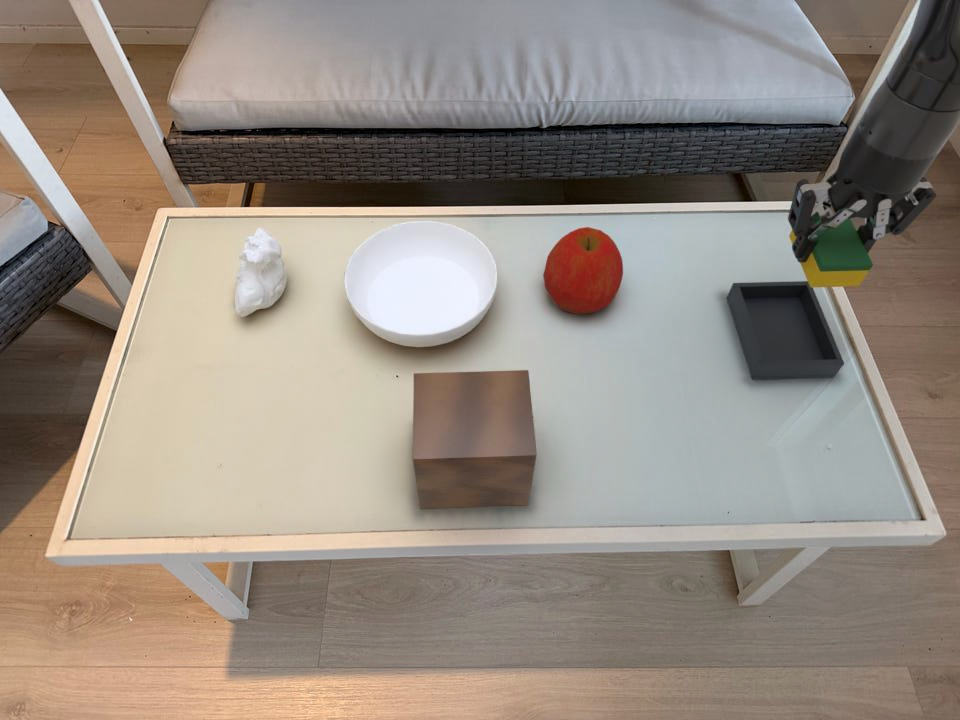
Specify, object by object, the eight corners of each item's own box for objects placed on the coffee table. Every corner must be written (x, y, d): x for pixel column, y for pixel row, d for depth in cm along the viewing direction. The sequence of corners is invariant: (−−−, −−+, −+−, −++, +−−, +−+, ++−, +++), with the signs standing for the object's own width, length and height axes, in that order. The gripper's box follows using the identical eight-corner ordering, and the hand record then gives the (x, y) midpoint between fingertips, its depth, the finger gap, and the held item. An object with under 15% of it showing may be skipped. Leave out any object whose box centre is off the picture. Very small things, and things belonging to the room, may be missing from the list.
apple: (601, 259, 99) (614, 203, 90) (628, 314, 93) (644, 260, 84) (532, 272, 97) (538, 216, 88) (555, 329, 91) (564, 275, 83)
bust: (260, 337, 93) (298, 298, 85) (204, 312, 89) (239, 268, 82) (281, 270, 100) (318, 228, 92) (231, 245, 96) (265, 198, 88)
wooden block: (521, 426, 83) (528, 369, 73) (528, 505, 77) (536, 455, 67) (420, 429, 83) (413, 373, 73) (419, 509, 77) (412, 459, 67)
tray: (833, 377, 88) (844, 363, 85) (752, 379, 87) (760, 365, 85) (801, 295, 95) (810, 280, 93) (726, 297, 95) (733, 282, 92)
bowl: (510, 353, 89) (512, 323, 84) (357, 375, 87) (350, 346, 82) (481, 244, 100) (482, 212, 95) (345, 261, 98) (338, 229, 93)
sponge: (858, 286, 77) (873, 264, 75) (810, 287, 77) (823, 266, 74) (834, 234, 82) (847, 212, 79) (788, 235, 82) (800, 213, 79)
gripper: (839, 158, 63) (772, 283, 77) (995, 156, 63) (900, 280, 77) (813, 107, 67) (754, 234, 81) (959, 105, 68) (875, 231, 81)
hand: (826, 256), depth 79 cm, fingers closed on sponge, 5 cm apart
